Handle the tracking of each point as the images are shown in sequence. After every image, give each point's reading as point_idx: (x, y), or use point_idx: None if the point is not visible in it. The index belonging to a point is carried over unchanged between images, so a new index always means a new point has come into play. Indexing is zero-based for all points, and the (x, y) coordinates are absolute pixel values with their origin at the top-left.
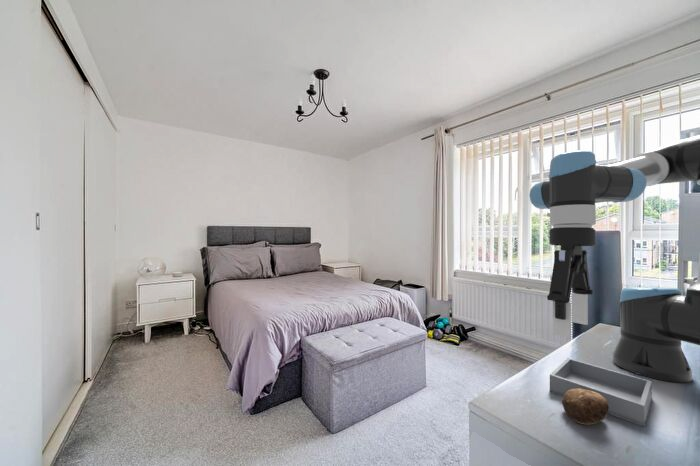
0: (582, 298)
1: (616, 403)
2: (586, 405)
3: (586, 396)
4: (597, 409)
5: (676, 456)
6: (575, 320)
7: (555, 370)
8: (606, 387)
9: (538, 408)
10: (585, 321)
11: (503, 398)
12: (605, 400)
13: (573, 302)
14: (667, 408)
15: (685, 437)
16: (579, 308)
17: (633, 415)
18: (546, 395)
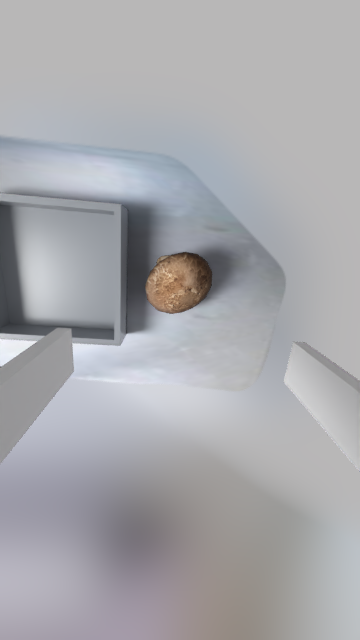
0: (4, 404)
1: (123, 245)
2: (207, 280)
3: (194, 283)
4: (205, 265)
5: (186, 175)
6: (70, 364)
7: (89, 342)
8: (24, 265)
9: (197, 333)
10: (65, 337)
11: (207, 374)
12: (180, 257)
13: (30, 418)
14: (10, 175)
15: (110, 159)
16: (40, 381)
17: (125, 222)
18: (144, 334)
